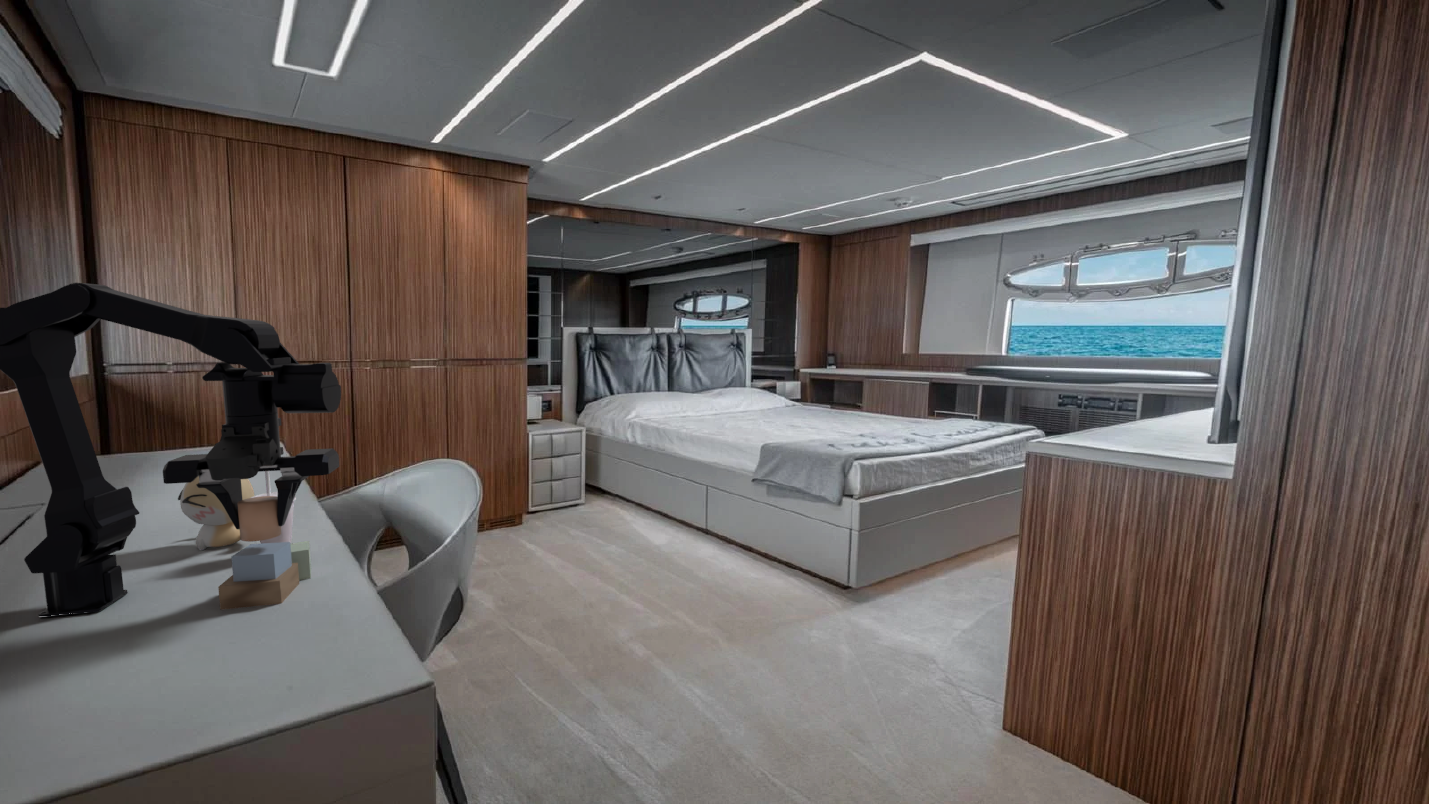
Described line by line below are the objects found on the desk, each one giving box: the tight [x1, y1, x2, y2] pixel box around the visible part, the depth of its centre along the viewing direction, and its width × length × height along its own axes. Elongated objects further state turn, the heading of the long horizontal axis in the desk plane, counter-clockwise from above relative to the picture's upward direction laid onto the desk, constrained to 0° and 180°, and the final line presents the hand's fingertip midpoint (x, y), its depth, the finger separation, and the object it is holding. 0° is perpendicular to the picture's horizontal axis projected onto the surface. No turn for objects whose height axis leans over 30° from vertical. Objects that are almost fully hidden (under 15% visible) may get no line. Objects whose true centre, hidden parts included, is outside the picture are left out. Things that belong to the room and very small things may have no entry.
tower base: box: [217, 563, 300, 611], centre depth 87 cm, size 7×7×4 cm
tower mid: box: [231, 542, 292, 582], centre depth 87 cm, size 5×5×4 cm
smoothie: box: [251, 471, 297, 544], centre depth 104 cm, size 6×6×14 cm
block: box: [290, 540, 312, 581], centre depth 94 cm, size 4×4×4 cm
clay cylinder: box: [238, 496, 282, 542], centre depth 86 cm, size 5×5×5 cm
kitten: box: [177, 476, 255, 551], centre depth 108 cm, size 15×10×15 cm, turn 50°
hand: (260, 527), depth 87 cm, fingers closed on clay cylinder, 5 cm apart
